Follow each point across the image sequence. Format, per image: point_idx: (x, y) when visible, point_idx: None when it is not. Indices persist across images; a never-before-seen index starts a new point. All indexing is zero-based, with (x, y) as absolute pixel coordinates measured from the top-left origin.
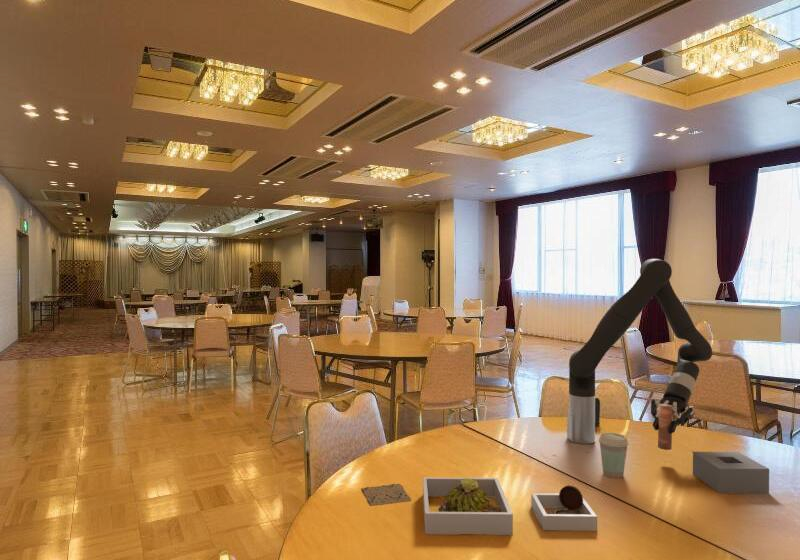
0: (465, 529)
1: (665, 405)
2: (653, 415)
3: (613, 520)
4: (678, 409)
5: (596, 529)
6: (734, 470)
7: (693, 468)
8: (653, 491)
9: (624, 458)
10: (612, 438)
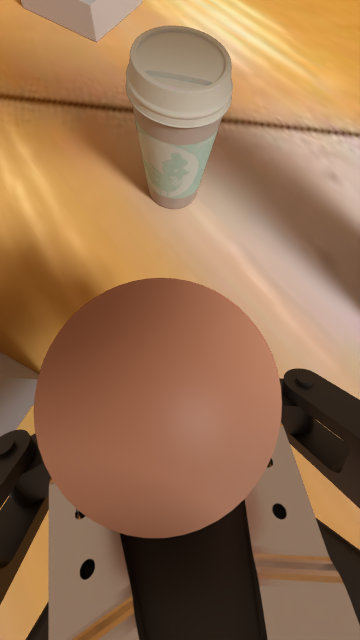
0: None
1: (165, 382)
2: (282, 381)
3: (27, 42)
4: (44, 626)
5: (22, 3)
6: None
7: (35, 377)
8: (52, 182)
9: (139, 142)
10: (169, 45)
